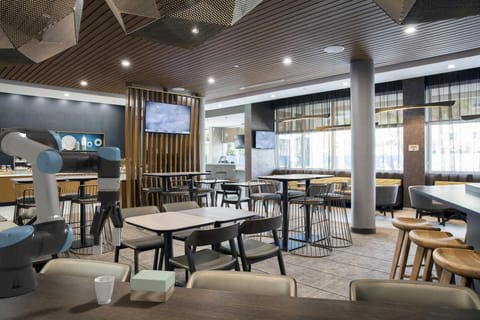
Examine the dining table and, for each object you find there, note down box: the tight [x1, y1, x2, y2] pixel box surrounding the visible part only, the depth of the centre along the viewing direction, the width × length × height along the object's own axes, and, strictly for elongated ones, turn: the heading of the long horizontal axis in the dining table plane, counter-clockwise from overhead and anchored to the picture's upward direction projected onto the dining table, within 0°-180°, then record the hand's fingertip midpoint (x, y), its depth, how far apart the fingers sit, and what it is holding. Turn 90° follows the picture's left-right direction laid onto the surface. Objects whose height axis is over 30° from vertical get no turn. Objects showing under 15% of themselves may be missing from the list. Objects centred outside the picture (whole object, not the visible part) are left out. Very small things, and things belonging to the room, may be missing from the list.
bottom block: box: [129, 283, 175, 303], centre depth 120 cm, size 13×10×4 cm
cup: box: [94, 275, 115, 306], centre depth 116 cm, size 7×10×8 cm
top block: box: [130, 269, 176, 292], centre depth 120 cm, size 13×10×4 cm
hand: (107, 250), depth 116 cm, fingers open, 13 cm apart
